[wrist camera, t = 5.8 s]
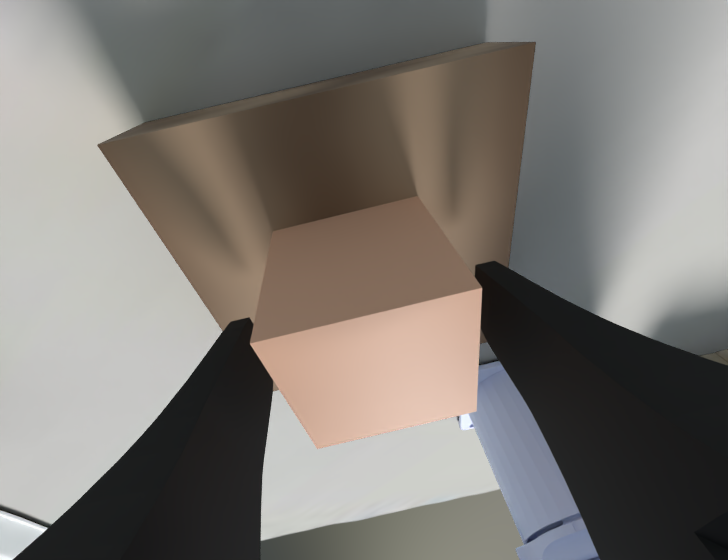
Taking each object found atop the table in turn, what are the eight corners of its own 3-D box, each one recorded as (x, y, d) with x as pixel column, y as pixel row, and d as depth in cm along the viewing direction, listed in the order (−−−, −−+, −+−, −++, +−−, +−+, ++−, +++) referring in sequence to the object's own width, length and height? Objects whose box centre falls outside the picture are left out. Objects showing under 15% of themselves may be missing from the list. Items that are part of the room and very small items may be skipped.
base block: (485, 42, 11) (535, 42, 8) (474, 300, 18) (499, 339, 16) (144, 122, 11) (97, 144, 8) (270, 347, 18) (264, 393, 16)
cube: (417, 195, 11) (482, 288, 7) (428, 304, 14) (476, 411, 10) (272, 231, 11) (249, 343, 7) (315, 331, 14) (317, 448, 10)
